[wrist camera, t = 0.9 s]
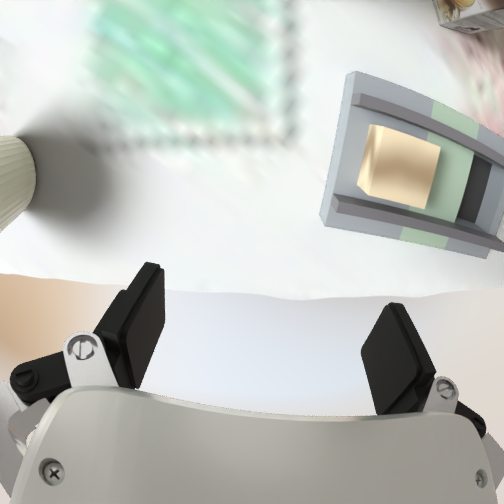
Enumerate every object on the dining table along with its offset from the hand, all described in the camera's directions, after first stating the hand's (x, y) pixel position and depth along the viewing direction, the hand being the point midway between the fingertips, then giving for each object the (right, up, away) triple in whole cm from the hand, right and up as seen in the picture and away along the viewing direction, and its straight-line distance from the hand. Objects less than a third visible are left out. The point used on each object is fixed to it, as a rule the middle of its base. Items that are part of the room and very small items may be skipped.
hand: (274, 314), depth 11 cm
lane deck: (+23, +13, +20) cm, 33 cm away
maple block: (+15, +12, +16) cm, 25 cm away
